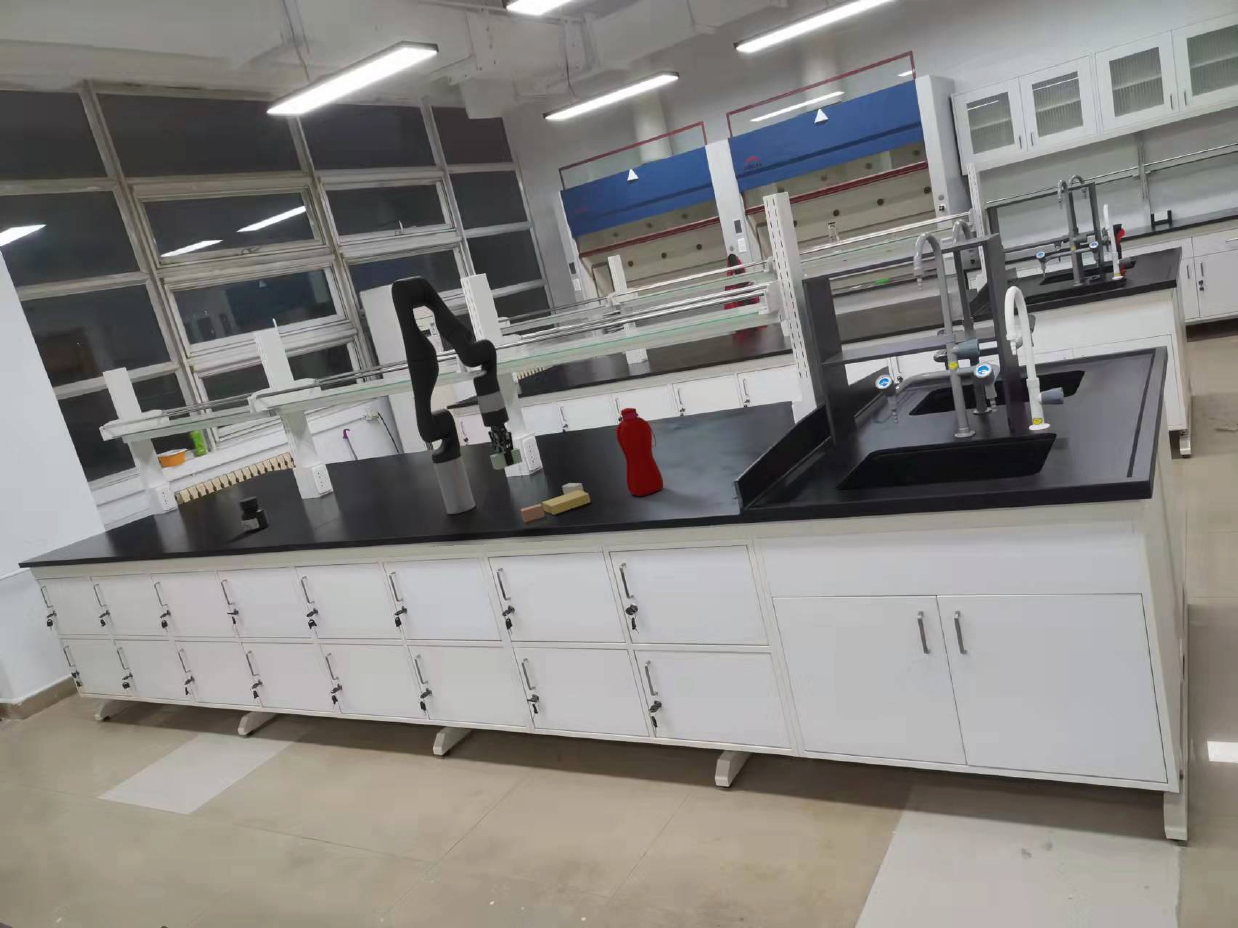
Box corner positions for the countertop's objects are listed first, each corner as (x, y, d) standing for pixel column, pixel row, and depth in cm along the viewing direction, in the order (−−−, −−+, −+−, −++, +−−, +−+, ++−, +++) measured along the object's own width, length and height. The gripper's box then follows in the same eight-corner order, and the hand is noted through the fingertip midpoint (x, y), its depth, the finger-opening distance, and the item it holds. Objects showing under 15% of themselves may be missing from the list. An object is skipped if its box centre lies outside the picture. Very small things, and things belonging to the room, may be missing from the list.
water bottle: (673, 486, 248) (654, 403, 243) (640, 498, 244) (621, 413, 239) (657, 483, 257) (639, 401, 251) (626, 494, 252) (606, 412, 247)
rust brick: (524, 522, 248) (521, 511, 247) (523, 520, 251) (520, 509, 250) (544, 517, 249) (542, 505, 249) (543, 514, 252) (540, 503, 251)
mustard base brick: (544, 511, 256) (542, 502, 256) (580, 499, 261) (578, 490, 260) (553, 516, 249) (551, 506, 249) (590, 503, 254) (588, 493, 253)
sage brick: (493, 468, 256) (489, 455, 255) (517, 460, 260) (514, 447, 259) (497, 469, 253) (494, 456, 252) (522, 461, 256) (519, 448, 255)
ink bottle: (240, 533, 327) (230, 503, 324) (260, 525, 334) (250, 495, 331) (254, 533, 321) (244, 502, 318) (275, 524, 328) (265, 494, 325)
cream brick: (564, 496, 267) (562, 486, 266) (571, 493, 269) (569, 483, 268) (577, 497, 263) (574, 486, 262) (584, 494, 265) (581, 483, 264)
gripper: (473, 411, 257) (488, 466, 261) (489, 412, 245) (504, 470, 248) (496, 404, 260) (510, 458, 264) (513, 405, 248) (528, 462, 251)
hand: (507, 463), depth 256 cm, fingers closed on sage brick, 4 cm apart
